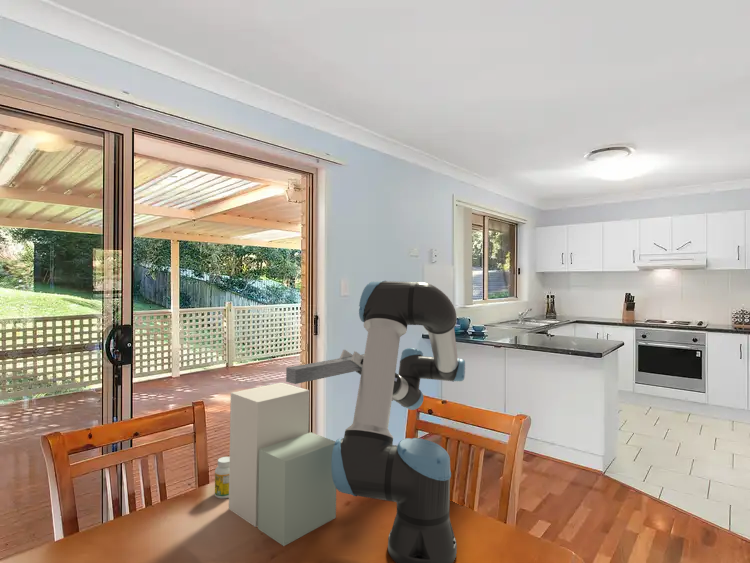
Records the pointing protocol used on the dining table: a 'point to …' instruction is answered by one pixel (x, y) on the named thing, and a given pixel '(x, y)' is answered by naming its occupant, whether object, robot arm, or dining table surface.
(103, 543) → the dining table surface
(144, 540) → the dining table surface
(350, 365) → the steel block
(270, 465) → the two-step stand
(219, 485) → the supplement bottle
